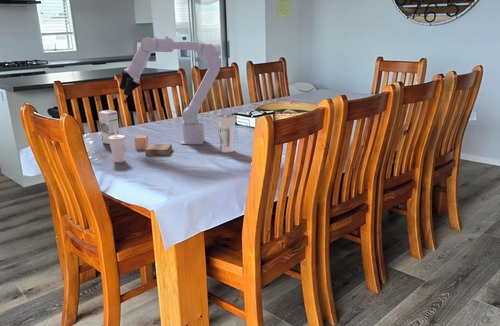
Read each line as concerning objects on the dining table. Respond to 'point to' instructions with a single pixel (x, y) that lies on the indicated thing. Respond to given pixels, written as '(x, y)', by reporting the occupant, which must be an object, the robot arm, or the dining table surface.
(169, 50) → the robot arm
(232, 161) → the dining table surface
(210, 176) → the dining table surface
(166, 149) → the walnut base
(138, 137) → the terracotta block
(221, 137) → the beer glass
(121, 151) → the smoothie
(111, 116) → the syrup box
